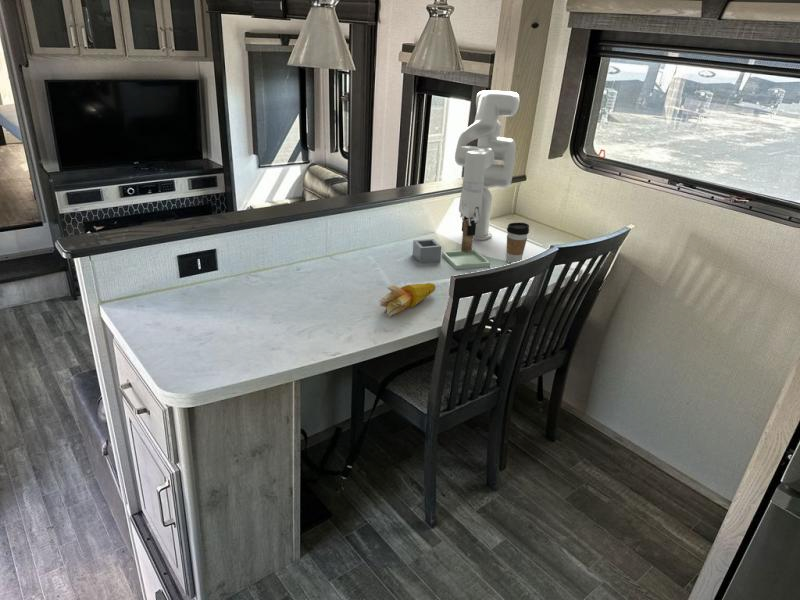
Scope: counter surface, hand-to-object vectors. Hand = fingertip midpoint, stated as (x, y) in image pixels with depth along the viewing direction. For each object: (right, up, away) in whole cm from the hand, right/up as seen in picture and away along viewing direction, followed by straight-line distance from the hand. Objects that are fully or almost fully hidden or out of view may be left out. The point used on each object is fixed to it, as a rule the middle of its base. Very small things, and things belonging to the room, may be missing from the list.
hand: (468, 232), depth 218 cm
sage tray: (0, -11, +6) cm, 12 cm away
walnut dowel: (0, -7, +3) cm, 7 cm away
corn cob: (-23, -28, -29) cm, 46 cm away
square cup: (-16, -10, +7) cm, 20 cm away
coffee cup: (+19, -10, +10) cm, 24 cm away
